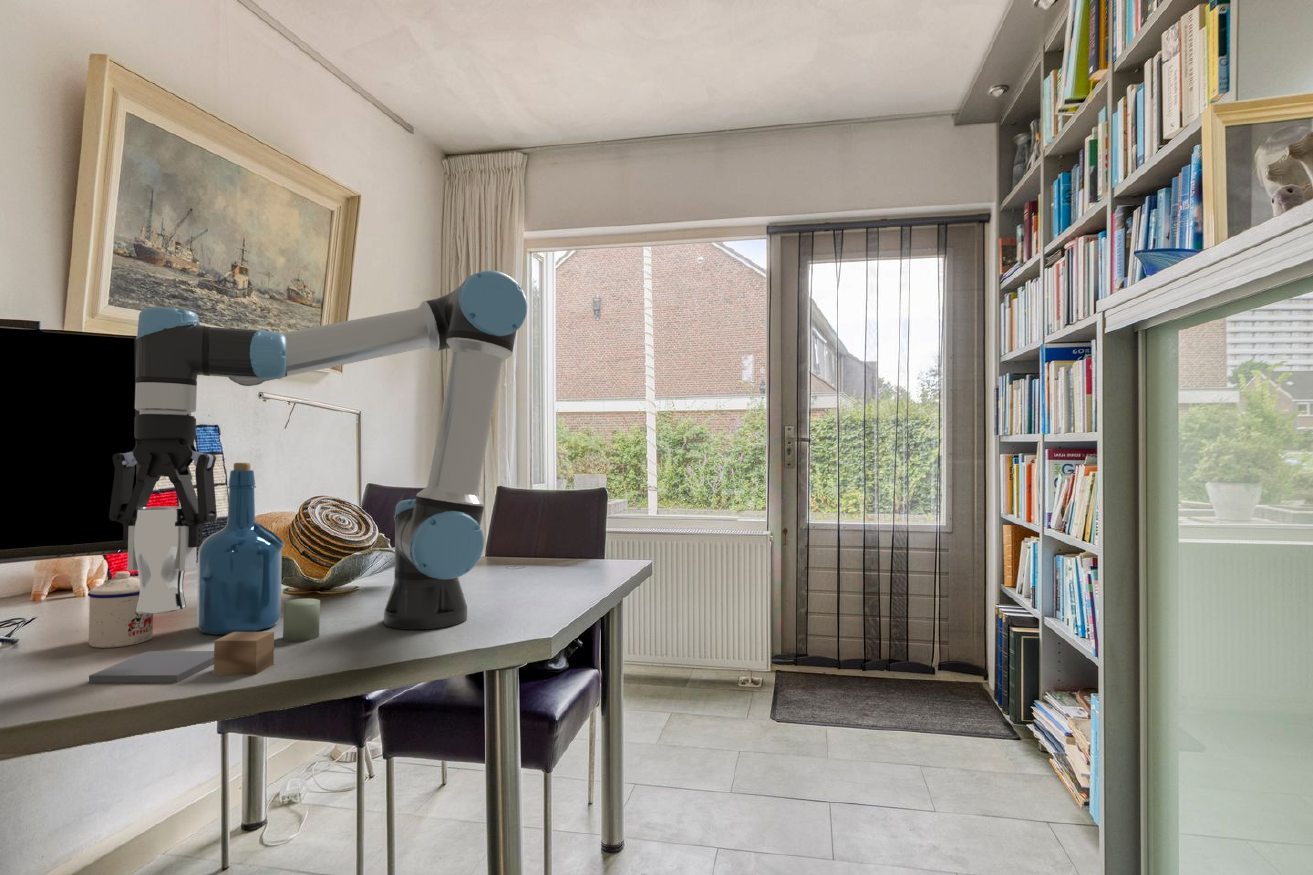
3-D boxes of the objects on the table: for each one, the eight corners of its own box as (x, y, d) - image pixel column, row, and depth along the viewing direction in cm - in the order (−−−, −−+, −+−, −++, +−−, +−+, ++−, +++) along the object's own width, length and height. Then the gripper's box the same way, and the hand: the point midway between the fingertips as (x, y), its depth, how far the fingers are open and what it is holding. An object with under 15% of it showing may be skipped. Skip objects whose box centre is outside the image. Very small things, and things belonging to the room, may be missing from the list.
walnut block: (273, 664, 108) (274, 631, 108) (255, 675, 103) (256, 640, 103) (233, 664, 108) (233, 631, 108) (213, 675, 103) (214, 640, 103)
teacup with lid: (138, 647, 117) (140, 575, 117) (74, 650, 115) (76, 577, 115) (171, 629, 129) (172, 564, 129) (113, 631, 127) (114, 565, 127)
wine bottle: (189, 640, 122) (192, 463, 122) (203, 622, 134) (205, 462, 134) (280, 632, 127) (283, 463, 128) (285, 616, 139) (287, 461, 140)
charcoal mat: (226, 657, 112) (226, 650, 112) (177, 682, 100) (177, 675, 100) (147, 657, 111) (147, 651, 111) (88, 682, 99) (88, 675, 99)
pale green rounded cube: (325, 633, 126) (327, 599, 126) (305, 642, 121) (306, 607, 121) (297, 631, 127) (298, 597, 127) (275, 639, 121) (276, 604, 121)
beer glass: (126, 616, 101) (128, 510, 101) (139, 606, 107) (140, 506, 108) (184, 612, 104) (186, 508, 104) (193, 603, 110) (195, 505, 110)
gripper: (247, 415, 110) (243, 565, 110) (116, 414, 110) (112, 564, 109) (219, 413, 103) (215, 574, 102) (78, 411, 102) (74, 573, 102)
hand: (162, 569), depth 106 cm, fingers closed on beer glass, 7 cm apart
